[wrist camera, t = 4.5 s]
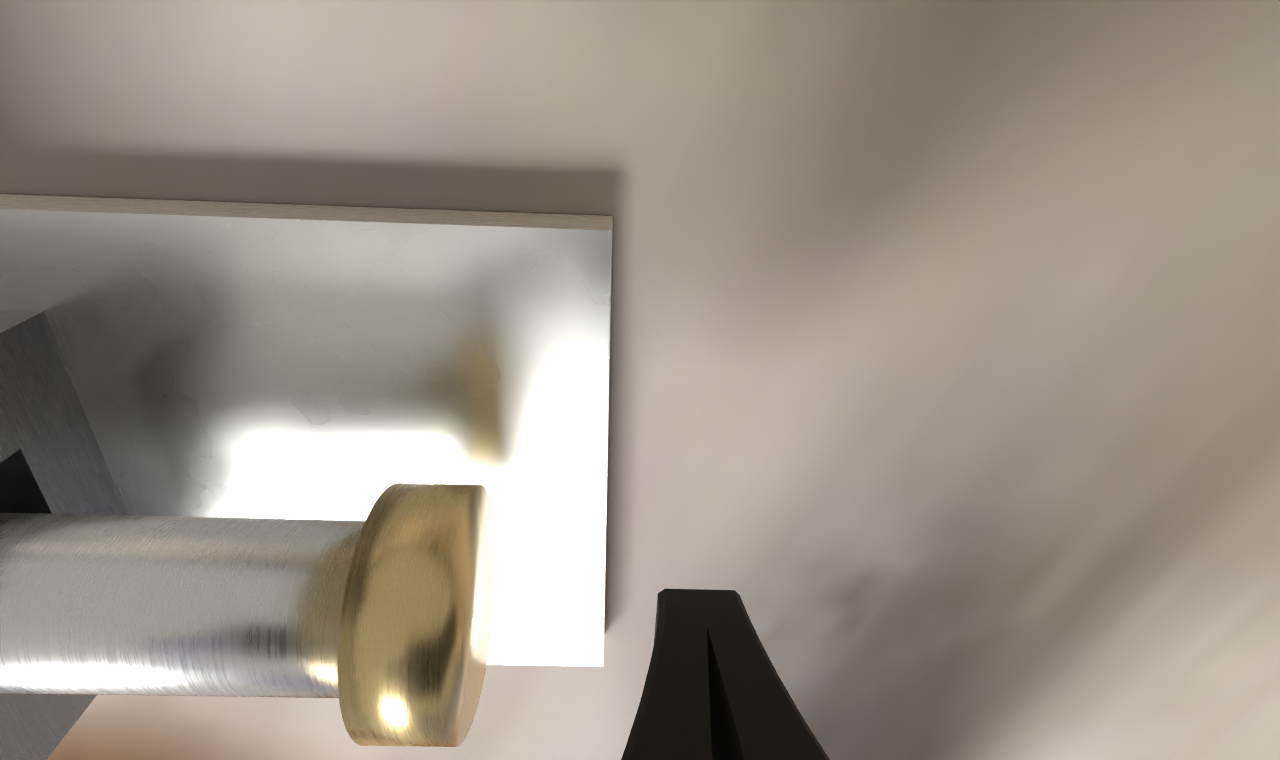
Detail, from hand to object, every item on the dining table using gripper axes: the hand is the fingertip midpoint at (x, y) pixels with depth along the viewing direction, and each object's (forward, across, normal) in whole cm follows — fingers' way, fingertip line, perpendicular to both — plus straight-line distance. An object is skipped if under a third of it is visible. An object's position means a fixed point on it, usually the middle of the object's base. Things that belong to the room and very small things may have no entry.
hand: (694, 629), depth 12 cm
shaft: (+3, +11, 0) cm, 12 cm away
